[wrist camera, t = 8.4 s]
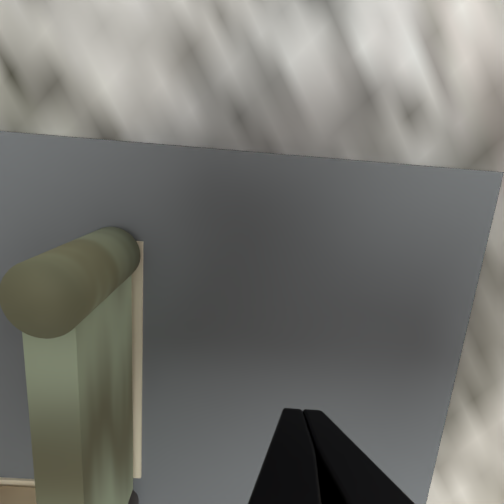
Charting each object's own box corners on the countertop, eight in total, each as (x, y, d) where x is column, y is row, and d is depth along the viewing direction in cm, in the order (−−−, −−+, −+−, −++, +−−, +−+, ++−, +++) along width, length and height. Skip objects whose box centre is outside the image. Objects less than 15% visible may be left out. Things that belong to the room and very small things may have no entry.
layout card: (-163, 569, 16) (-176, 582, 15) (-276, 109, 11) (-299, 106, 11) (398, 593, 16) (403, 606, 16) (495, 172, 12) (505, 172, 12)
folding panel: (140, 489, 14) (97, 622, 10) (94, 487, 14) (30, 620, 10) (140, 228, 12) (82, 262, 7) (84, 225, 12) (-5, 256, 7)
